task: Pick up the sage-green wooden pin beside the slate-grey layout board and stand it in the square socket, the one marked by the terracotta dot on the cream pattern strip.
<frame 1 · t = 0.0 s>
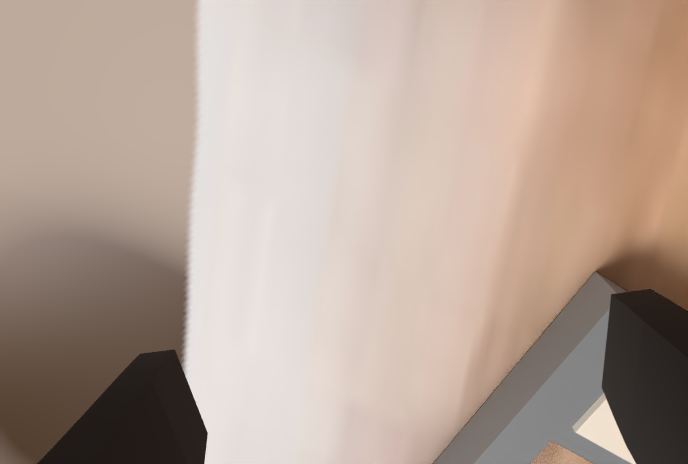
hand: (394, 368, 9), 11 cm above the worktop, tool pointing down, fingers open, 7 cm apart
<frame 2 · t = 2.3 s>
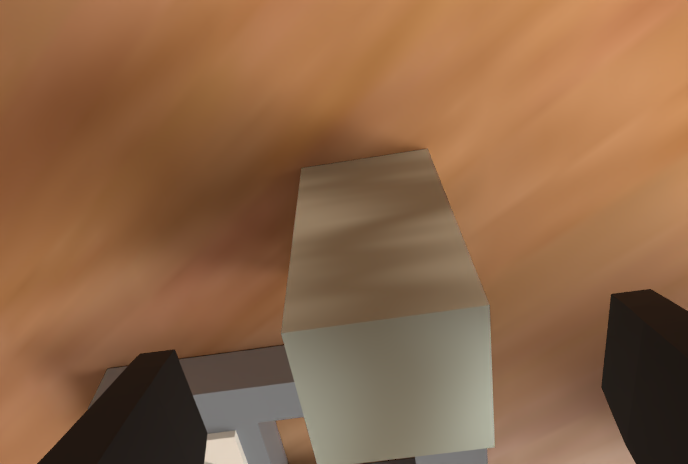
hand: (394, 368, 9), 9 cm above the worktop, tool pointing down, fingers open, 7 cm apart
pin: (372, 214, 19), on the worktop
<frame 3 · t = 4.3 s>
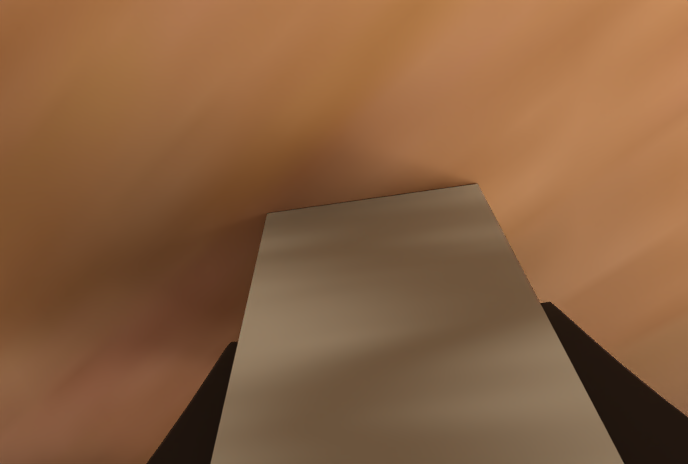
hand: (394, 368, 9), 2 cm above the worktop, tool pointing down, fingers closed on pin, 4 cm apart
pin: (383, 284, 12), on the worktop, touching gripper
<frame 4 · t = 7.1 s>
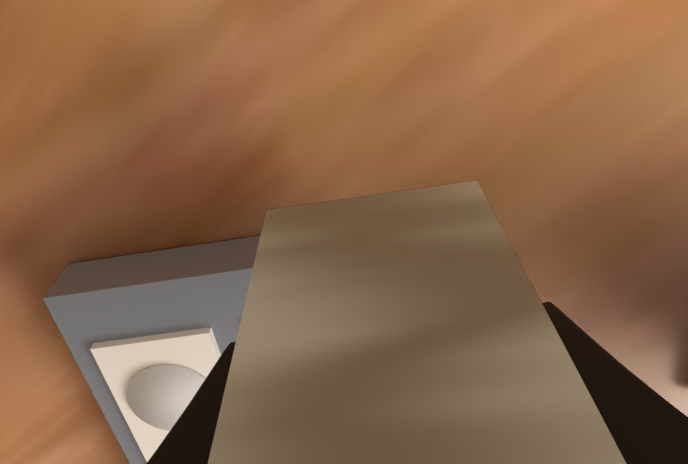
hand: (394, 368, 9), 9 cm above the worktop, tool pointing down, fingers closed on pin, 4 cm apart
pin: (382, 282, 12), point 7 cm above the worktop, touching gripper
layout board: (316, 419, 23), on the worktop
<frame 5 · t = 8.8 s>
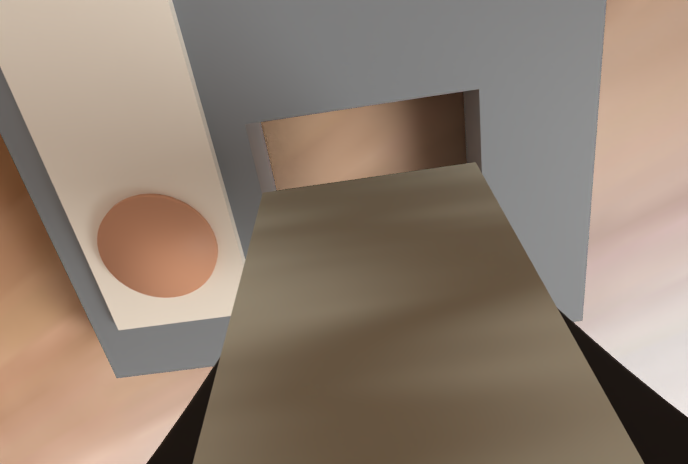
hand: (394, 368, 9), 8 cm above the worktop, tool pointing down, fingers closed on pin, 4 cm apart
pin: (380, 266, 11), point 5 cm above the worktop, touching gripper
layout board: (288, 23, 14), on the worktop
when the fingers open (3 cm above the worktop, at t = 10.1 s): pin stays where it is, resting in layout board.
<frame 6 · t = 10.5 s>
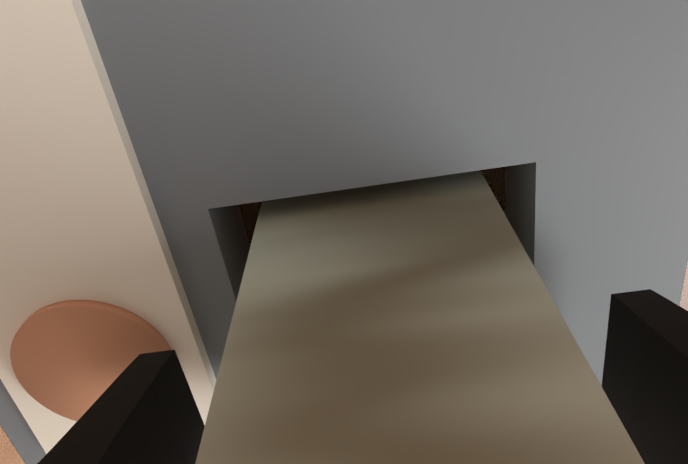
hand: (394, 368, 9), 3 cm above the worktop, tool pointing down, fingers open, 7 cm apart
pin: (378, 243, 12), resting in layout board
layout board: (270, 65, 10), on the worktop
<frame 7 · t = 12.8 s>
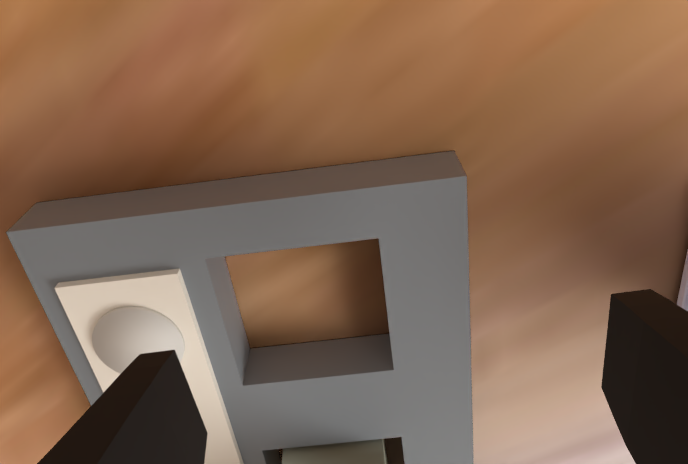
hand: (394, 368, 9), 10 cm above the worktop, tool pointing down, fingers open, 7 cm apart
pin: (339, 442, 25), resting in layout board
layout board: (289, 378, 23), on the worktop
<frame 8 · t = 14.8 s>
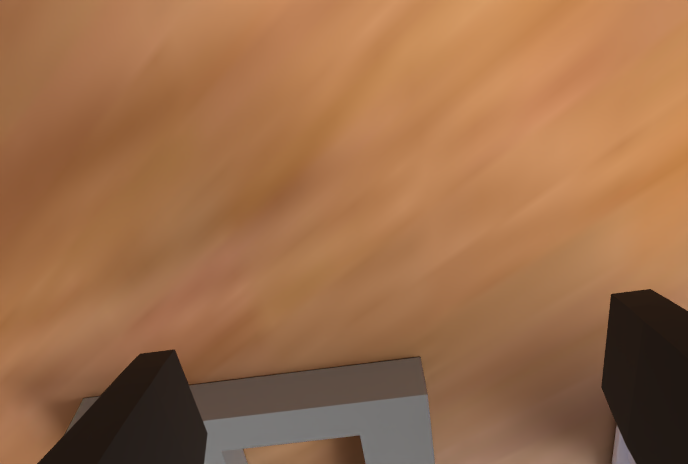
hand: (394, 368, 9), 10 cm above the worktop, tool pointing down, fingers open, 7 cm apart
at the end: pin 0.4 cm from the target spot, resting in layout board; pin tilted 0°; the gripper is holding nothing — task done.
